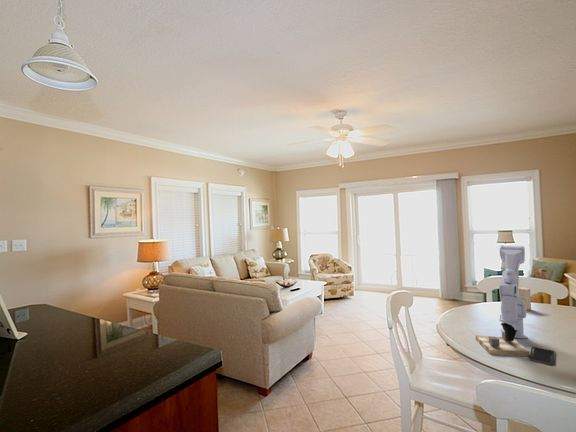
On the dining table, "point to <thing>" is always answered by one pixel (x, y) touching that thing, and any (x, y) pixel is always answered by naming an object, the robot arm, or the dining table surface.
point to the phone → (542, 356)
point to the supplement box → (525, 297)
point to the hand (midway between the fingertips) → (510, 340)
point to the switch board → (503, 346)
